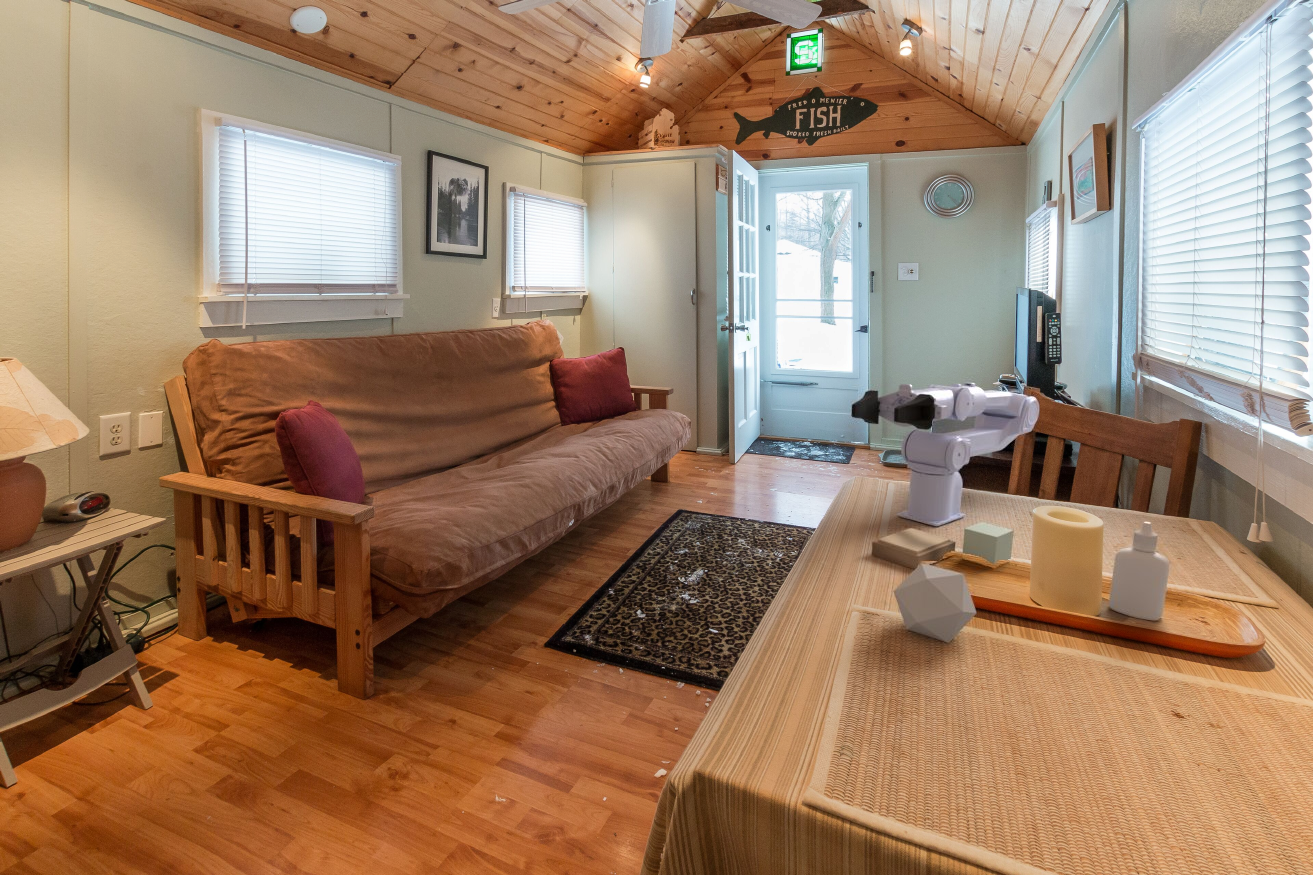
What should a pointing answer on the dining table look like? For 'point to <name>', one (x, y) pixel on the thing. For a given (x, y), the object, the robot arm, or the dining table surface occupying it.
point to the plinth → (912, 547)
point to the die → (935, 602)
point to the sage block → (988, 542)
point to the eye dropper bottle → (1140, 578)
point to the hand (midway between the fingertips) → (874, 412)
